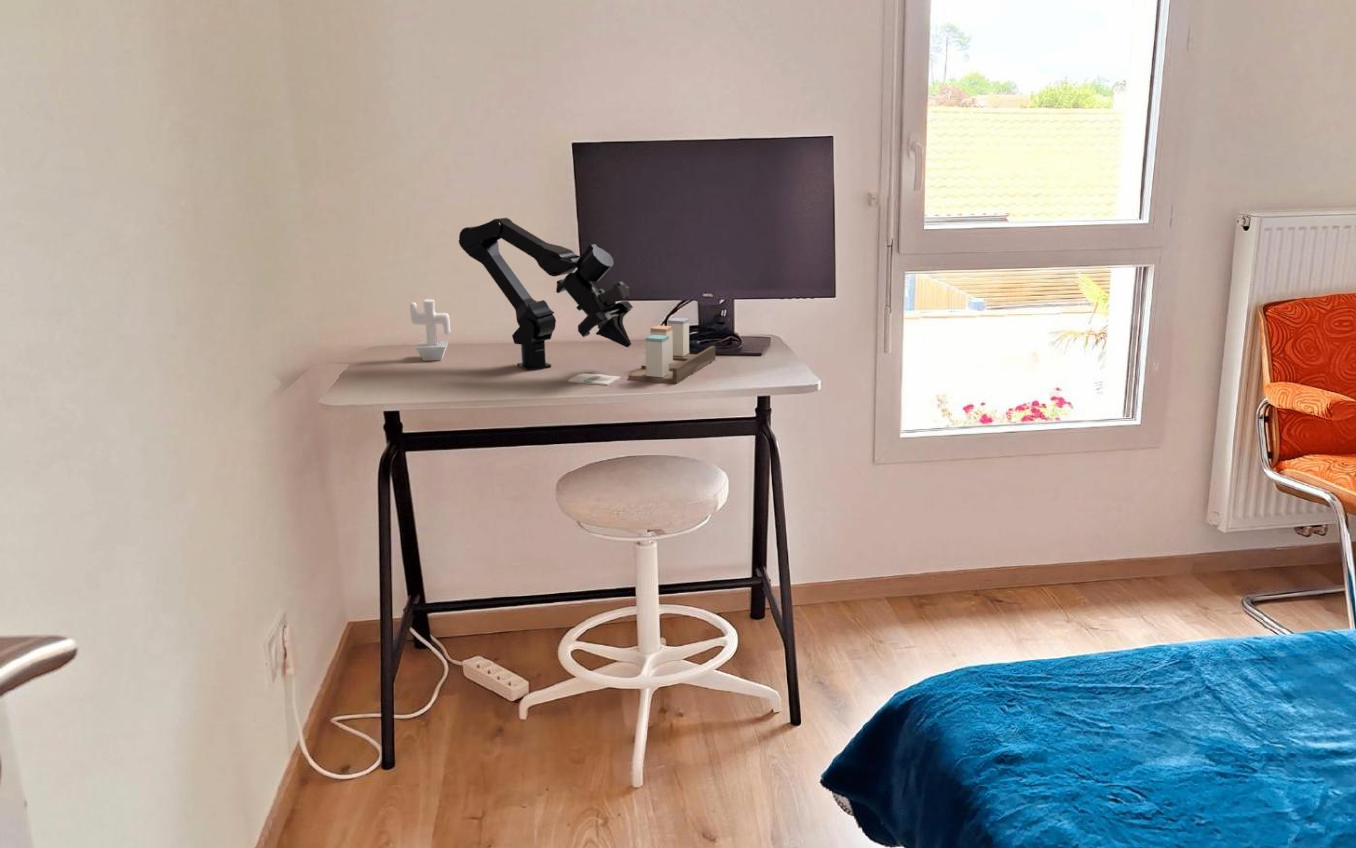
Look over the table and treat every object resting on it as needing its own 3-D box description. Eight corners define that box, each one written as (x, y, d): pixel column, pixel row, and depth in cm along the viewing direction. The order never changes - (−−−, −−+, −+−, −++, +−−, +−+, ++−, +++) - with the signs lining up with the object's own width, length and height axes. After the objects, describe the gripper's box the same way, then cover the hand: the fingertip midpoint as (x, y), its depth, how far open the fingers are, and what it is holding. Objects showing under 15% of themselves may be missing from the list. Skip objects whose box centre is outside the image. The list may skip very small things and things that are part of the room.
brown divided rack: (628, 379, 225) (628, 364, 224) (670, 356, 249) (670, 342, 248) (676, 383, 221) (676, 368, 220) (715, 359, 244) (715, 346, 243)
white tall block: (646, 375, 224) (645, 337, 221) (653, 372, 227) (652, 334, 225) (662, 377, 222) (662, 339, 220) (669, 373, 226) (668, 335, 223)
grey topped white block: (668, 355, 244) (668, 320, 242) (674, 352, 248) (674, 317, 245) (683, 356, 243) (683, 321, 240) (689, 353, 246) (688, 318, 244)
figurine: (450, 361, 245) (446, 301, 241) (412, 362, 244) (407, 302, 240) (454, 355, 252) (449, 296, 248) (416, 356, 251) (411, 297, 247)
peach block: (651, 364, 235) (650, 328, 232) (657, 361, 238) (657, 325, 236) (666, 365, 233) (666, 329, 231) (672, 362, 237) (672, 326, 234)
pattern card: (567, 381, 223) (567, 379, 223) (582, 374, 230) (582, 372, 230) (607, 385, 220) (607, 382, 220) (620, 378, 226) (620, 375, 226)
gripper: (589, 277, 214) (635, 331, 213) (624, 266, 231) (667, 316, 230) (558, 309, 219) (603, 362, 218) (595, 297, 236) (637, 346, 235)
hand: (629, 345), depth 225 cm, fingers closed
